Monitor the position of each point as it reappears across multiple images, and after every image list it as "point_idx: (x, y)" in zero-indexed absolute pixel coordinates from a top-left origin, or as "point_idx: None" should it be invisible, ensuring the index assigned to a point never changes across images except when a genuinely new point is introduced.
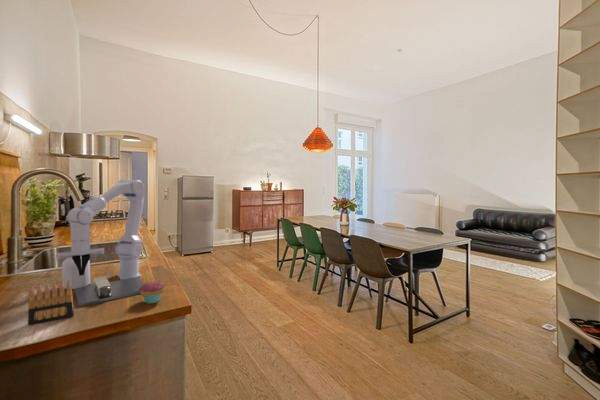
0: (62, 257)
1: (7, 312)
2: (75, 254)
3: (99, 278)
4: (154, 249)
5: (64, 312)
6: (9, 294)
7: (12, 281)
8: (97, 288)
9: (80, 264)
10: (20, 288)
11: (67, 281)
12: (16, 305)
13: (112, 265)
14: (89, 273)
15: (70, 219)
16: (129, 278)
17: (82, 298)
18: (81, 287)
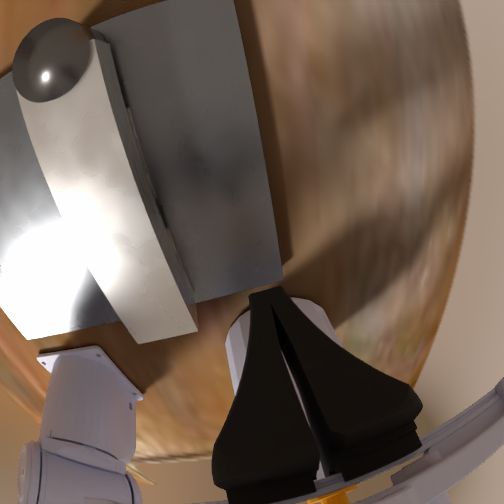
0: (486, 405)
1: (471, 126)
2: (432, 478)
3: (158, 315)
4: None
5: None
6: (443, 298)
7: (412, 374)
8: (119, 119)
9: (310, 370)
10: (416, 335)
11: (324, 328)
12: (453, 187)
13: (194, 444)
14: (234, 382)
15: None
16: (51, 333)
17: (218, 73)
18: (253, 284)
